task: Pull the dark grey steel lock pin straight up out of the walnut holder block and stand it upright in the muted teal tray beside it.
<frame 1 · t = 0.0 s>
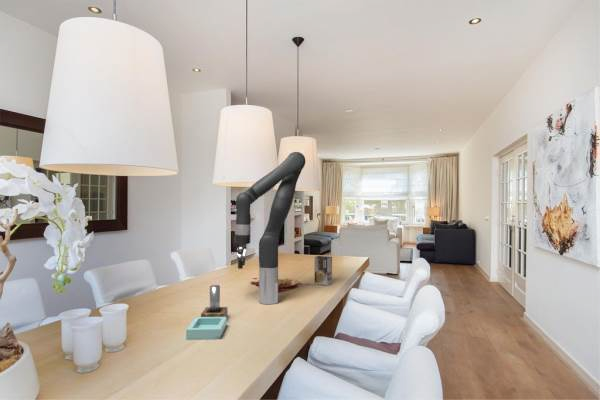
hand: (241, 266, 165), 17 cm above the table, tool pointing down, fingers open, 8 cm apart
tray: (207, 332, 127), on the table
lock pin: (214, 303, 140), in the holder
holder: (214, 320, 140), on the table
coffee box: (323, 284, 204), on the table
plate with food: (279, 285, 201), on the table
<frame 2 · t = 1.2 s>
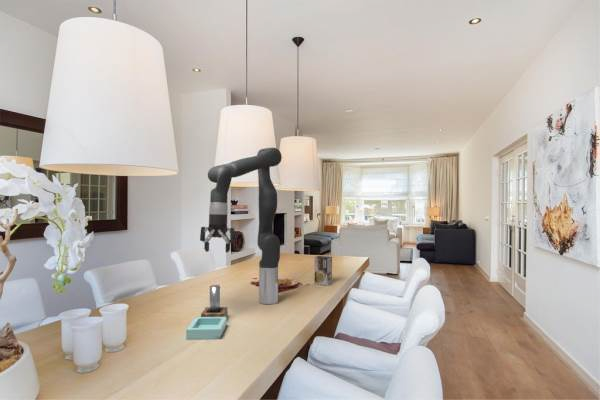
hand: (217, 251, 143), 28 cm above the table, tool pointing down, fingers open, 8 cm apart
nothing on the table moved.
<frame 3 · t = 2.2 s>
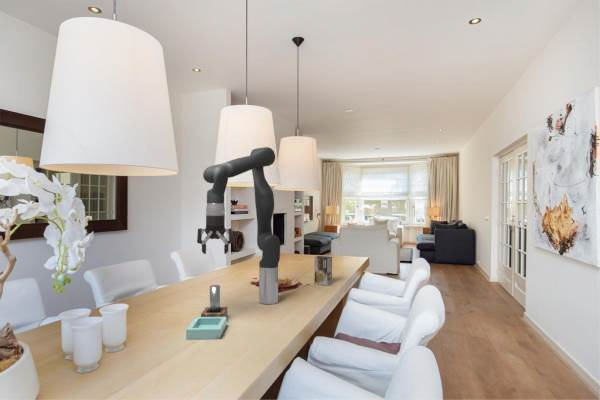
hand: (215, 253, 140), 27 cm above the table, tool pointing down, fingers open, 8 cm apart
nothing on the table moved.
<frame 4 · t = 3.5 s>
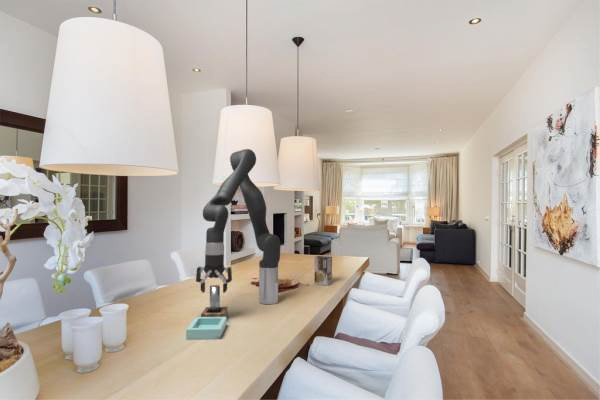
hand: (213, 292, 140), 11 cm above the table, tool pointing down, fingers open, 8 cm apart
nothing on the table moved.
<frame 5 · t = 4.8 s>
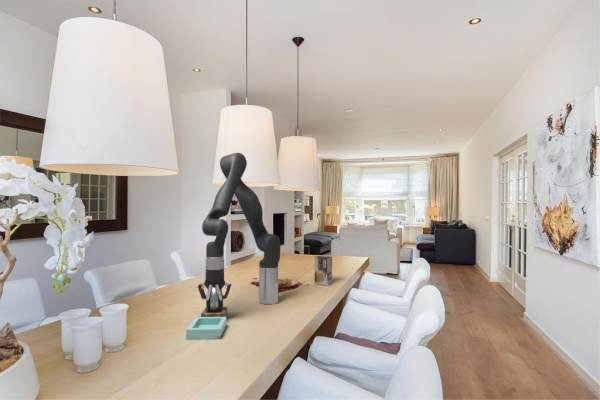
hand: (214, 308, 140), 5 cm above the table, tool pointing down, fingers closed on lock pin, 4 cm apart
lock pin: (214, 303, 140), in the holder, touching gripper
everything else where it was.
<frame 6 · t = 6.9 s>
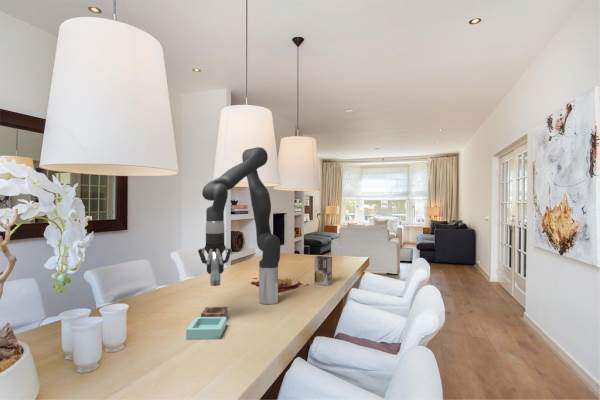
hand: (215, 273, 140), 19 cm above the table, tool pointing down, fingers closed on lock pin, 4 cm apart
lock pin: (215, 267, 140), point 22 cm above the table, touching gripper
everything else where it was.
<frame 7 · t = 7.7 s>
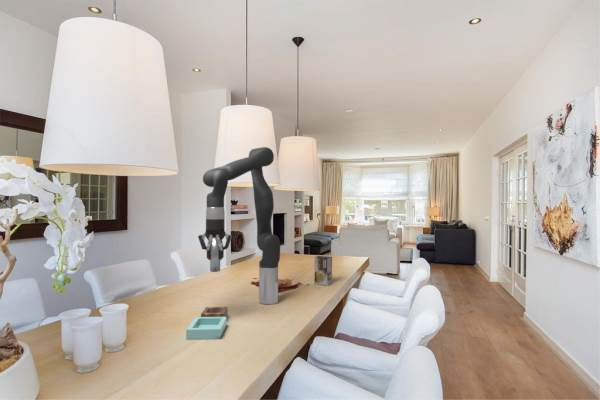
hand: (215, 259, 140), 25 cm above the table, tool pointing down, fingers closed on lock pin, 4 cm apart
lock pin: (215, 254, 140), point 27 cm above the table, touching gripper
everything else where it was.
when the fingers open (7 cm above the table, at t = 11.7 s): lock pin stays where it is, resting on tray.
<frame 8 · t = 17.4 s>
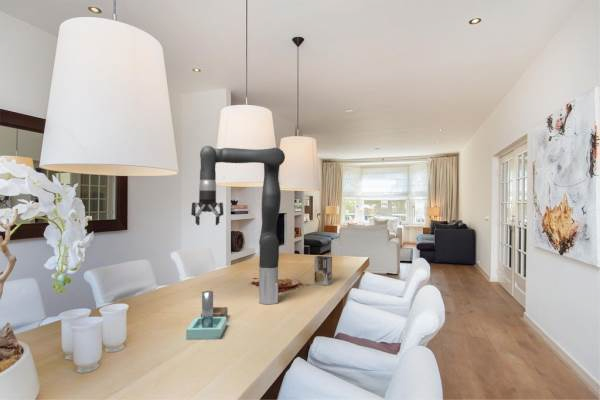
hand: (207, 224, 157), 38 cm above the table, tool pointing down, fingers open, 8 cm apart
lock pin: (207, 310, 127), in the tray, point 8 cm above the table
everything else where it was.
at the end: lock pin inside the target area on the tray (0.0 cm from its centre), point 8.0 cm above the tray's base; lock pin tilted 0°; the gripper is holding nothing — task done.
